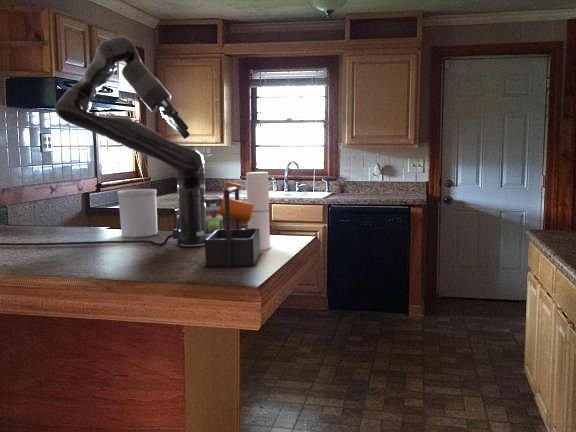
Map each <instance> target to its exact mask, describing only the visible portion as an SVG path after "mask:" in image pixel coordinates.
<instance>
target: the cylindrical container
mask: <svg viewBox="0 0 576 432" xmlns="http://www.w3.org/2000/svg"><path fill="white" fill-rule="evenodd" d="M245 174H246V175H245V177H246V202H247V203H252V204H254V206H253V212H252V216H251V220H250V222H248V221H247V229H259V231H260V251H264V250H270V249H271V234H270V233H271V230H270V228H271V227H270V226H271V225H270V195H269V194H270V192H269V190H270V189H269V172H268V171H251V172H250V171H249V172H246V173H245Z"/></svg>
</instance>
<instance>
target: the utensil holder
mask: <svg viewBox="0 0 576 432" xmlns="http://www.w3.org/2000/svg"><path fill="white" fill-rule="evenodd" d="M157 193H158V191H157V189H156V188H134V189H132V188H131V189H124V190H123V189H122V190H118V191H117V194H116V195H117V196H118V197H117V198H118V209H119V219H120V220H119V223H120V230H121V231H120V232H121V236H122V237H123V238H146V237H151V236H156V235H157V234H158V211H157V210H158V209H157Z"/></svg>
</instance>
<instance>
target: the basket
mask: <svg viewBox="0 0 576 432" xmlns="http://www.w3.org/2000/svg"><path fill="white" fill-rule="evenodd" d="M232 193H234V200H238V201H240V188H236V187H231V186H229V188H228V189H226V190H225V189H224V190H223V195H224V194H225V216H224V217H225V218H224V220H225V228H223V229H216V230H215V231H214V232H213V233H212V234H211V235H209V236H207V238H206V239H205V246H204V257H205V268H207V269H209V268H211V269H212V268H213V269H215V268H226V269H232V268H255V265H256V263H257V261H258V259H259V257H260V255H261V250H260V231H259V229H248V228H241V220H239V219H235V228H231V218H230V199H231V198H230V195H231V194H232Z"/></svg>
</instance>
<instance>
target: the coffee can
mask: <svg viewBox="0 0 576 432" xmlns="http://www.w3.org/2000/svg"><path fill="white" fill-rule="evenodd" d="M222 200H223V197H219V196H205V207H206V234H207V237H208V236H209V235H211V234H212V233H213V232H214V231H215V230H216V229H224V226H223V224H224V223H223V216H221V215H220V208H221V204H222Z"/></svg>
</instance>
